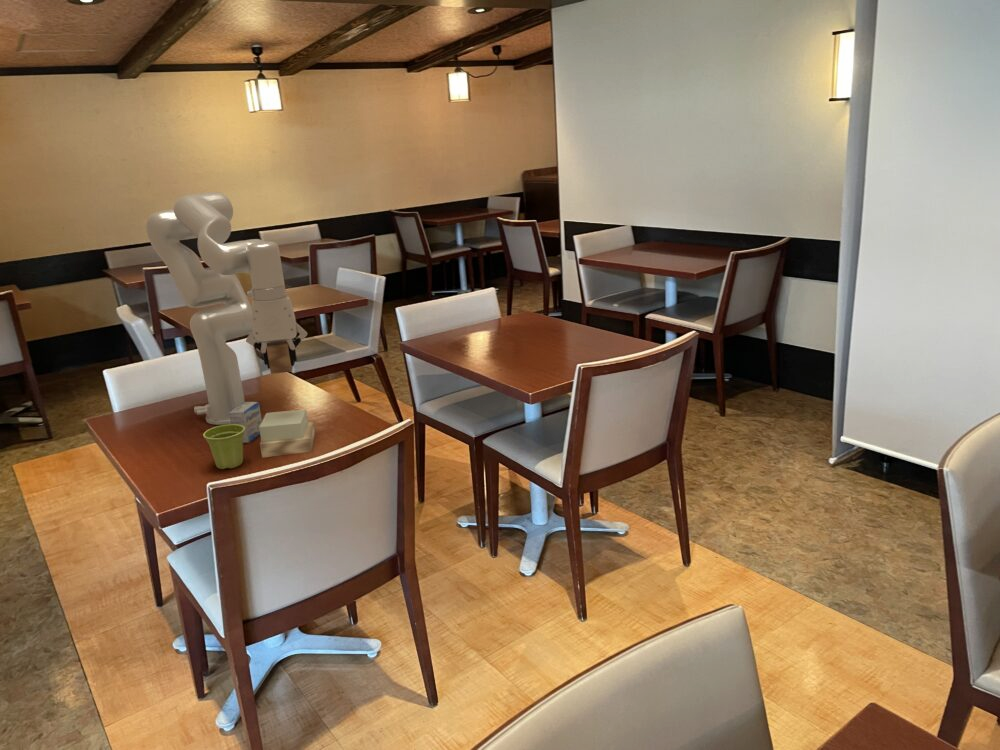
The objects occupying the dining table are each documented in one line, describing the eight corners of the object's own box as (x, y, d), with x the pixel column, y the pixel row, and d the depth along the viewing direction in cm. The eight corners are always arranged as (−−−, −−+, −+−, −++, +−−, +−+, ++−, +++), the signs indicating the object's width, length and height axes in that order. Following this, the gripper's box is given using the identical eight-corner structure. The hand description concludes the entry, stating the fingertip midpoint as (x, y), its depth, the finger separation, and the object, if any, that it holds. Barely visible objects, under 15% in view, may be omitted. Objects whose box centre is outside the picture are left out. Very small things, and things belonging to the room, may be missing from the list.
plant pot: (234, 453, 187) (228, 421, 185) (258, 460, 182) (252, 427, 179) (201, 467, 180) (194, 434, 177) (225, 475, 175) (219, 441, 172)
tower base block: (262, 459, 184) (259, 444, 183) (268, 441, 195) (265, 426, 194) (312, 453, 186) (309, 438, 184) (315, 435, 197) (313, 421, 196)
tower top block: (261, 442, 184) (259, 427, 183) (268, 427, 193) (266, 412, 192) (302, 438, 185) (300, 423, 184) (308, 423, 194) (306, 409, 193)
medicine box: (249, 443, 193) (243, 412, 190) (233, 443, 194) (227, 411, 191) (264, 431, 200) (259, 401, 198) (249, 431, 201) (243, 401, 199)
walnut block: (270, 373, 184) (266, 346, 182) (272, 368, 189) (268, 341, 187) (291, 371, 185) (287, 344, 183) (293, 366, 189) (289, 339, 187)
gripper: (230, 300, 176) (244, 374, 182) (304, 293, 179) (315, 365, 184) (235, 294, 183) (248, 365, 189) (306, 287, 186) (316, 357, 191)
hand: (281, 364), depth 186 cm, fingers closed on walnut block, 4 cm apart
